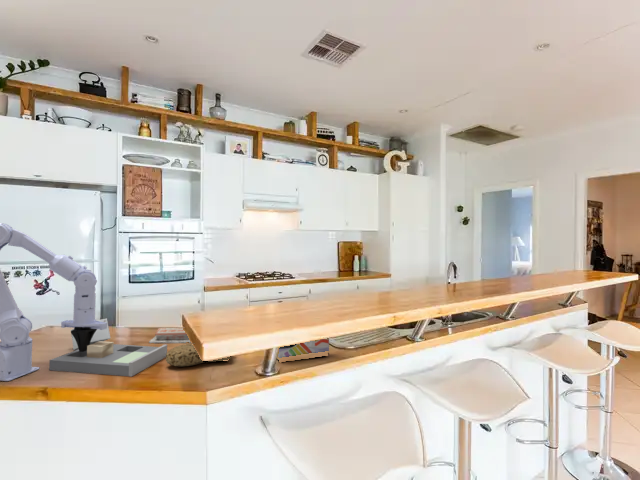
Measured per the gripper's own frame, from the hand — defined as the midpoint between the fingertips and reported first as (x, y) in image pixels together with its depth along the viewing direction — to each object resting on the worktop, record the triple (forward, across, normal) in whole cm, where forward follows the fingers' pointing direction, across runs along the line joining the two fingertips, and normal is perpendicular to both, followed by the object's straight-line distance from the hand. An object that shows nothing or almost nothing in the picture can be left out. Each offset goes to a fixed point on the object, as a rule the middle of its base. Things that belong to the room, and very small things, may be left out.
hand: (83, 350), depth 110 cm
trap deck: (+4, -8, -2) cm, 9 cm away
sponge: (+4, -36, -7) cm, 37 cm away
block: (+1, -6, 0) cm, 6 cm away
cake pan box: (+4, -68, -18) cm, 70 cm away
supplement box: (+1, +13, -15) cm, 20 cm away
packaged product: (+5, -14, -30) cm, 34 cm away
